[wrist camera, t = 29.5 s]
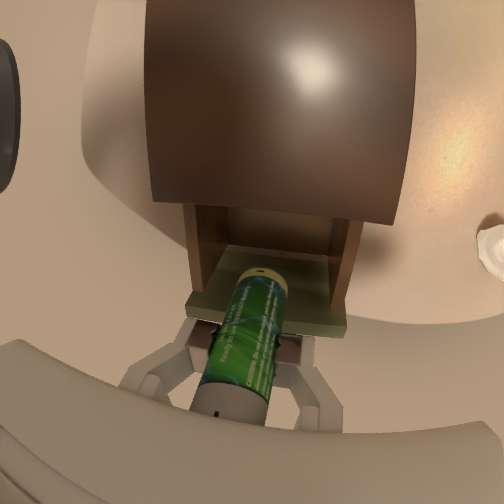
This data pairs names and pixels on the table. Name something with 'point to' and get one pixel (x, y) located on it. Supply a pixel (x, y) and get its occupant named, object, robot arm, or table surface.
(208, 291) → the drawer
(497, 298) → the table surface
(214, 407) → the battery
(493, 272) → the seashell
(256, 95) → the cabinet
